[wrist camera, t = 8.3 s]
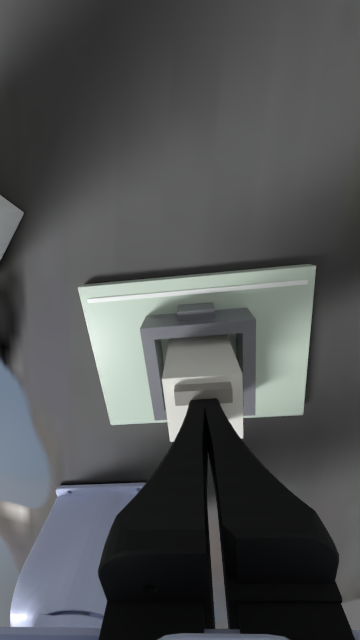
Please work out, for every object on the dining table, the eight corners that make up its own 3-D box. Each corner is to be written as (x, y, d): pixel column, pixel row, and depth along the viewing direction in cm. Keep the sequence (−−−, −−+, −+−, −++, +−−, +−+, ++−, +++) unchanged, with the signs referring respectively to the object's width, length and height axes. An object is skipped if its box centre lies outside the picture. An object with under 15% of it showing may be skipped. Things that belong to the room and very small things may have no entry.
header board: (114, 416, 22) (101, 449, 19) (83, 284, 18) (59, 296, 15) (297, 406, 21) (318, 439, 18) (309, 263, 17) (337, 272, 14)
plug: (175, 381, 19) (169, 450, 13) (170, 334, 18) (160, 385, 12) (226, 378, 19) (245, 447, 13) (225, 330, 18) (245, 380, 12)
